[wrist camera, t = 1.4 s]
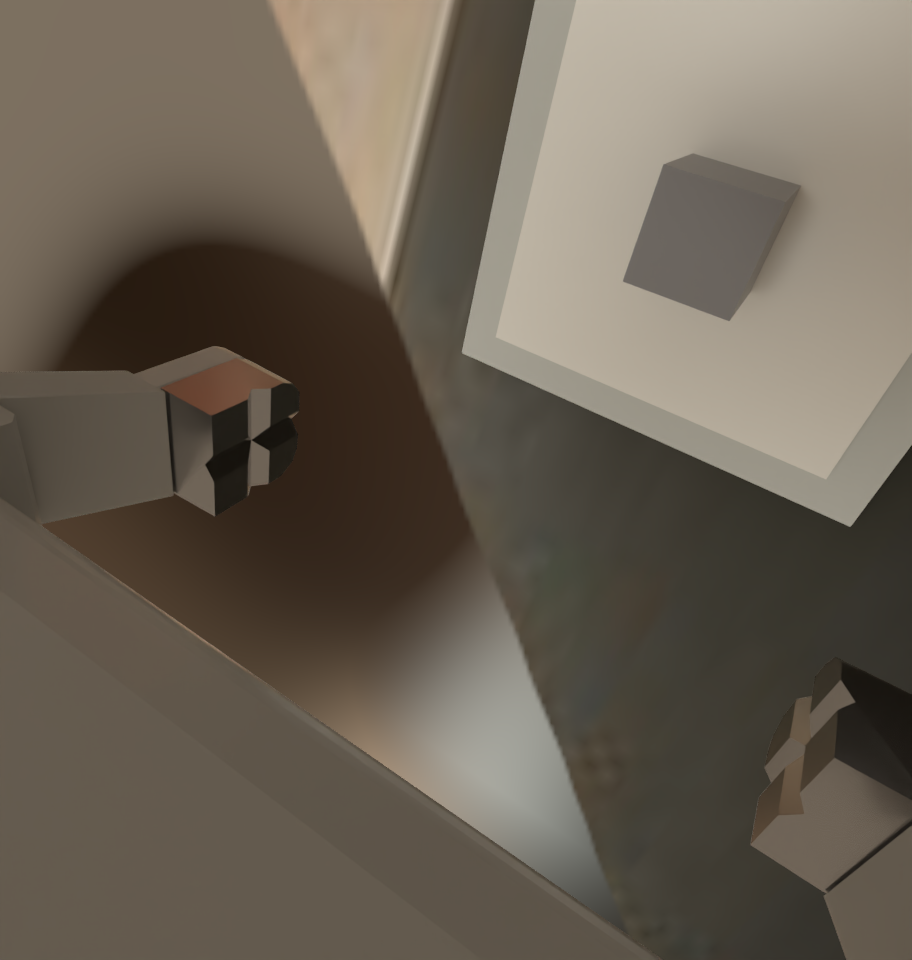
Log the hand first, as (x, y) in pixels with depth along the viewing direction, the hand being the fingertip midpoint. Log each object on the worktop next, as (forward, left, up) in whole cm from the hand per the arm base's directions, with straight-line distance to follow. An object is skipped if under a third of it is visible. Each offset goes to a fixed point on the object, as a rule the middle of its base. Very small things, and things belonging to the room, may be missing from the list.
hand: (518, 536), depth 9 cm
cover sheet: (0, -2, -22) cm, 22 cm away
